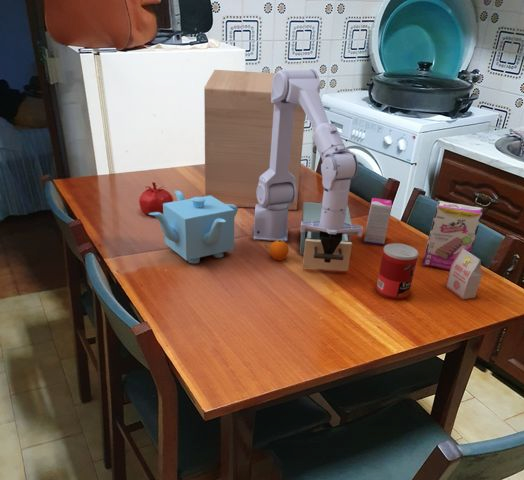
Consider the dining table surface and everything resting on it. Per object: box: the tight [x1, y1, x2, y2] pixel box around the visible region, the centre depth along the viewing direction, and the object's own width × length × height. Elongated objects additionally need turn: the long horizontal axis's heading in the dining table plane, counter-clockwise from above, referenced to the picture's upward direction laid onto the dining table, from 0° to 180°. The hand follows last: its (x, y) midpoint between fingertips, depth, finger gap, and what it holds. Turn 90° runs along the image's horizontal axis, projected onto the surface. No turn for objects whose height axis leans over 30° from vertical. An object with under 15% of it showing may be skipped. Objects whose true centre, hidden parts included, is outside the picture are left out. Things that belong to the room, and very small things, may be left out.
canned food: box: [376, 242, 419, 300], centre depth 128 cm, size 8×8×11 cm
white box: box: [445, 248, 483, 300], centre depth 131 cm, size 4×7×10 cm, turn 20°
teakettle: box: [148, 190, 239, 264], centre depth 140 cm, size 19×19×15 cm
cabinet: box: [299, 201, 352, 256], centre depth 150 cm, size 16×13×9 cm
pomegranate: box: [138, 181, 174, 216], centre depth 163 cm, size 10×10×9 cm
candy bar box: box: [422, 200, 484, 271], centre depth 140 cm, size 11×5×16 cm, turn 71°
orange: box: [269, 240, 290, 261], centre depth 142 cm, size 5×5×5 cm
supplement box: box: [363, 197, 393, 246], centre depth 154 cm, size 6×6×12 cm
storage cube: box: [203, 69, 306, 211], centre depth 178 cm, size 34×29×34 cm
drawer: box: [302, 231, 353, 272], centre depth 139 cm, size 20×11×7 cm, turn 176°
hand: (327, 260), depth 134 cm, fingers closed, pressing on drawer
